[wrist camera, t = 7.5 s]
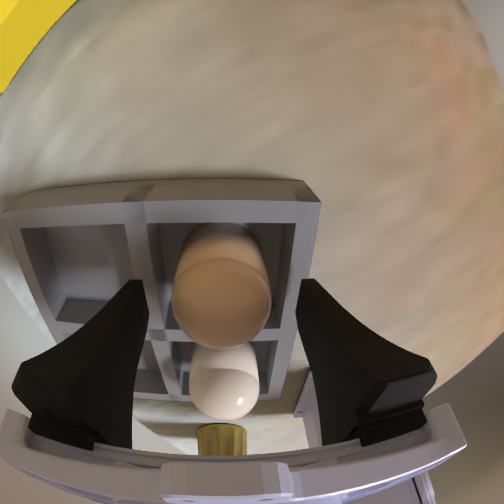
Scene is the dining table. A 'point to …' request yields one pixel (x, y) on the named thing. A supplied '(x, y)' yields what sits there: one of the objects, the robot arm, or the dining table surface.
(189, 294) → the brown egg
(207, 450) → the vase
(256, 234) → the gray compartment tray
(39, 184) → the dining table surface
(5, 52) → the yellow banana
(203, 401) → the cream egg
